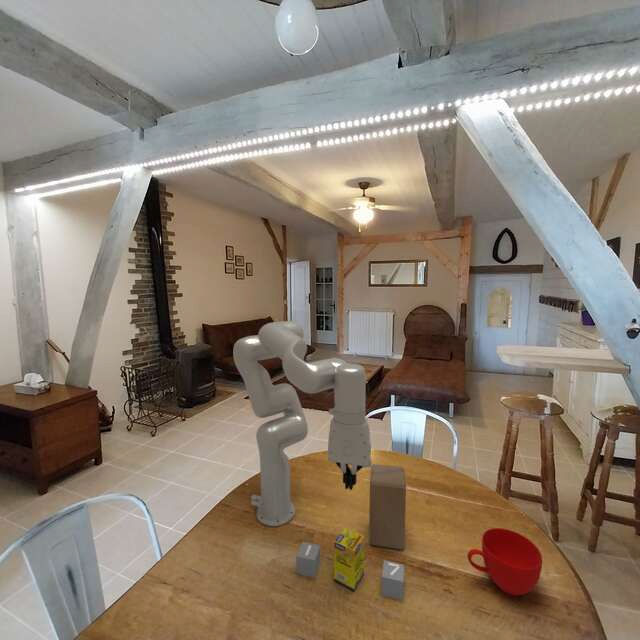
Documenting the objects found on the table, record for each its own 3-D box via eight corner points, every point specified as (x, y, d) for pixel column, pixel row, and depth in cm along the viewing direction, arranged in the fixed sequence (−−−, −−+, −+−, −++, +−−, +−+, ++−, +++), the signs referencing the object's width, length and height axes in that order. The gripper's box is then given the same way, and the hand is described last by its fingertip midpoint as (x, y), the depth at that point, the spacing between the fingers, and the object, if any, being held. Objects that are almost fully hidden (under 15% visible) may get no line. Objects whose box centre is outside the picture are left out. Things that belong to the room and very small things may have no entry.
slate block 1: (296, 573, 86) (296, 555, 85) (302, 558, 90) (302, 541, 90) (314, 578, 84) (314, 559, 84) (320, 562, 89) (320, 544, 89)
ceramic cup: (457, 561, 89) (458, 527, 88) (520, 562, 89) (522, 528, 88) (478, 607, 76) (480, 568, 75) (552, 609, 76) (555, 569, 75)
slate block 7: (381, 595, 80) (381, 575, 79) (383, 577, 84) (383, 559, 84) (402, 601, 78) (403, 581, 78) (403, 582, 83) (404, 564, 82)
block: (404, 551, 92) (406, 485, 90) (368, 546, 94) (369, 481, 92) (403, 526, 102) (404, 465, 100) (370, 522, 104) (371, 462, 102)
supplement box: (354, 592, 80) (354, 551, 79) (333, 581, 83) (333, 541, 82) (364, 574, 85) (365, 535, 84) (344, 564, 88) (344, 526, 87)
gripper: (315, 417, 78) (316, 490, 80) (379, 424, 74) (378, 501, 76) (324, 406, 86) (324, 473, 87) (382, 412, 81) (381, 482, 83)
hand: (349, 485), depth 82 cm, fingers closed
